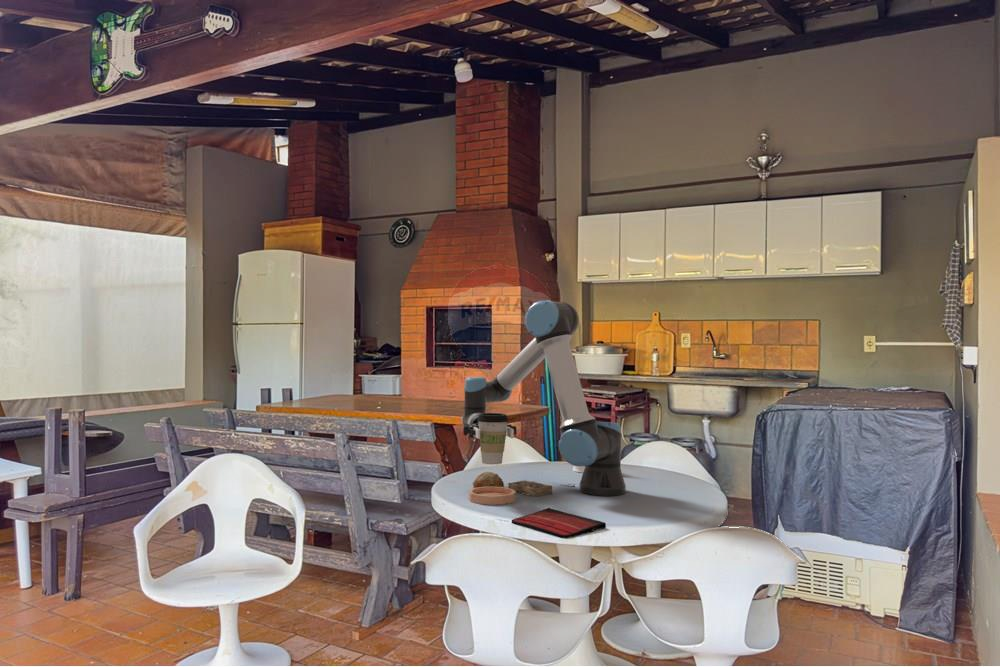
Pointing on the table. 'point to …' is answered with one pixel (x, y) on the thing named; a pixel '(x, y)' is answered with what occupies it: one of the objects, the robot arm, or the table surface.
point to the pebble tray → (530, 487)
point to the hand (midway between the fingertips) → (495, 434)
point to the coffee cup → (492, 437)
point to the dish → (492, 495)
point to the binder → (558, 523)
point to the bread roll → (488, 480)
